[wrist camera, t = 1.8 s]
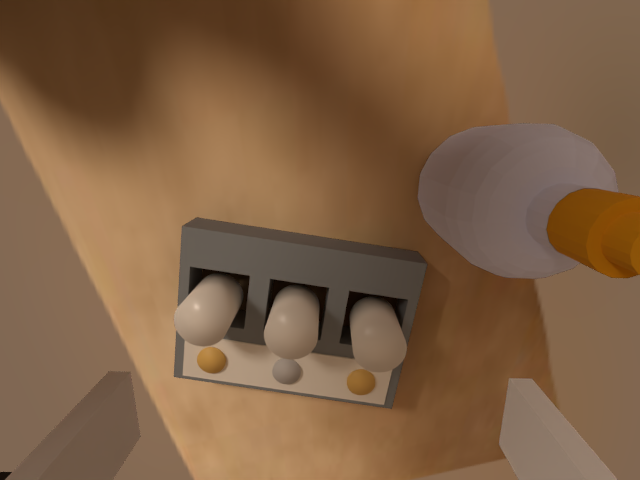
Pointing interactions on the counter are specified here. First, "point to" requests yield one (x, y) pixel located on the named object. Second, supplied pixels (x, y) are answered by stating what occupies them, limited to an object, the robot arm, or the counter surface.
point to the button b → (293, 323)
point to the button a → (209, 310)
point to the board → (248, 326)
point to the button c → (376, 335)
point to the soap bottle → (530, 202)
